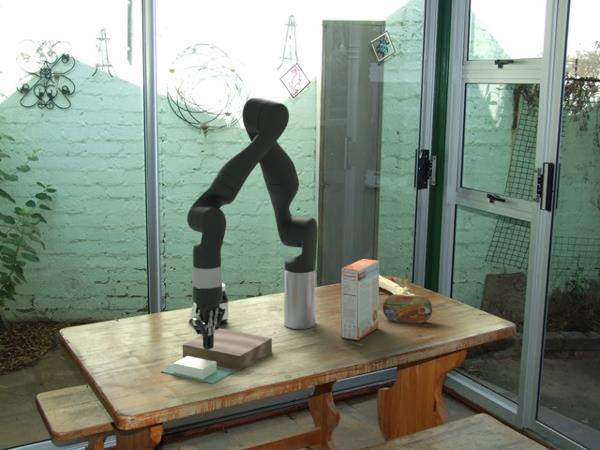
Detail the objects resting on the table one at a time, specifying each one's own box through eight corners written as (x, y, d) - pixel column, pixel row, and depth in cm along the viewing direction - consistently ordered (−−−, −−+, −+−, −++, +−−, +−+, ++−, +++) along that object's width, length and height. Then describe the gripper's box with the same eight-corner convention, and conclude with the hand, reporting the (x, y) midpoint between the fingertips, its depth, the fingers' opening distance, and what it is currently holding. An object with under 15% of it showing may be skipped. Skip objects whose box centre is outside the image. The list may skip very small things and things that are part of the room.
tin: (382, 320, 243) (382, 294, 242) (383, 317, 246) (384, 291, 245) (431, 324, 240) (432, 297, 238) (432, 321, 243) (433, 295, 241)
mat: (184, 360, 208) (184, 358, 208) (235, 370, 201) (235, 369, 201) (160, 372, 200) (160, 370, 200) (213, 383, 192) (213, 382, 192)
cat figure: (420, 304, 266) (378, 281, 288) (422, 280, 264) (380, 259, 285) (395, 308, 262) (355, 285, 283) (398, 283, 260) (357, 261, 281)
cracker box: (361, 325, 239) (362, 257, 235) (379, 328, 236) (380, 260, 232) (339, 337, 227) (340, 267, 223) (357, 341, 224) (359, 269, 220)
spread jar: (231, 325, 238) (231, 287, 236) (196, 329, 233) (195, 291, 231) (218, 314, 249) (218, 278, 247) (184, 318, 244) (183, 282, 242)
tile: (173, 363, 198) (173, 372, 199) (202, 369, 194) (202, 379, 194) (187, 355, 203) (187, 365, 204) (216, 361, 199) (216, 371, 200)
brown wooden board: (217, 341, 223) (216, 327, 222) (271, 352, 215) (271, 338, 214) (182, 358, 209) (182, 344, 208) (240, 370, 201) (239, 356, 200)
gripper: (210, 275, 207) (211, 338, 211) (179, 287, 196) (181, 353, 199) (234, 279, 204) (234, 343, 207) (204, 291, 193) (205, 358, 196)
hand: (208, 348), depth 203 cm, fingers closed
